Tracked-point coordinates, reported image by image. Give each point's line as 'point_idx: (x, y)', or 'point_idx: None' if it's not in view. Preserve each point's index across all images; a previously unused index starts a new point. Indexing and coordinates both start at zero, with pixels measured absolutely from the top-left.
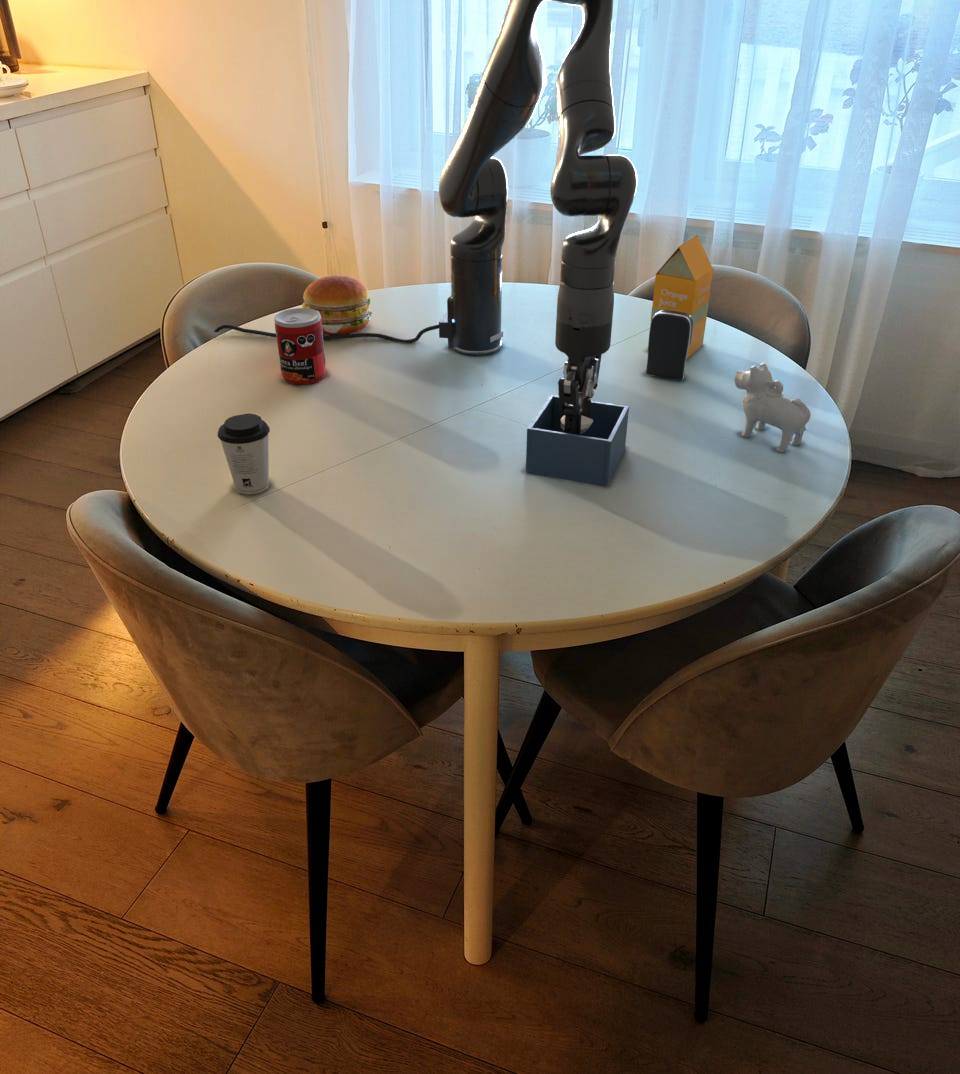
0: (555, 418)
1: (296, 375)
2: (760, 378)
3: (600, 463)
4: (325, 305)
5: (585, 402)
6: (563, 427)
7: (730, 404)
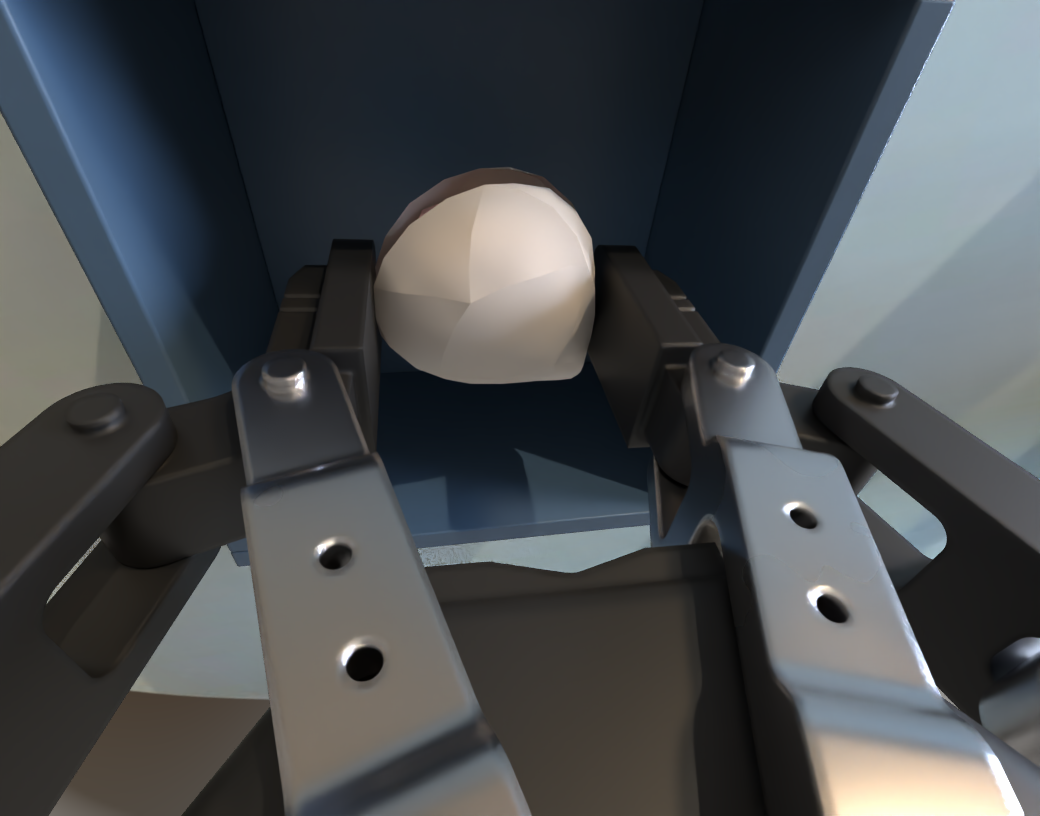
0: (772, 9)
1: None
2: None
3: None
4: None
5: (630, 405)
6: (486, 183)
7: (925, 522)
